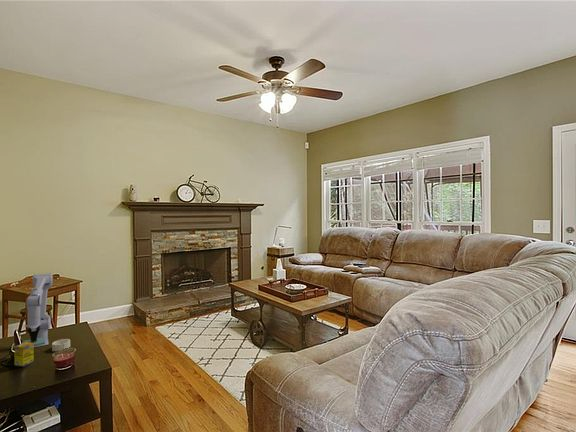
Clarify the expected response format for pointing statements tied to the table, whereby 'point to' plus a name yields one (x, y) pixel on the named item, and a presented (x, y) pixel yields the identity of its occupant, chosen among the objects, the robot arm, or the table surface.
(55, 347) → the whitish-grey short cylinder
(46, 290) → the robot arm
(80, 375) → the table surface
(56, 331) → the table surface
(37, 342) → the lid
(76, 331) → the table surface
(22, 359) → the supplement box
